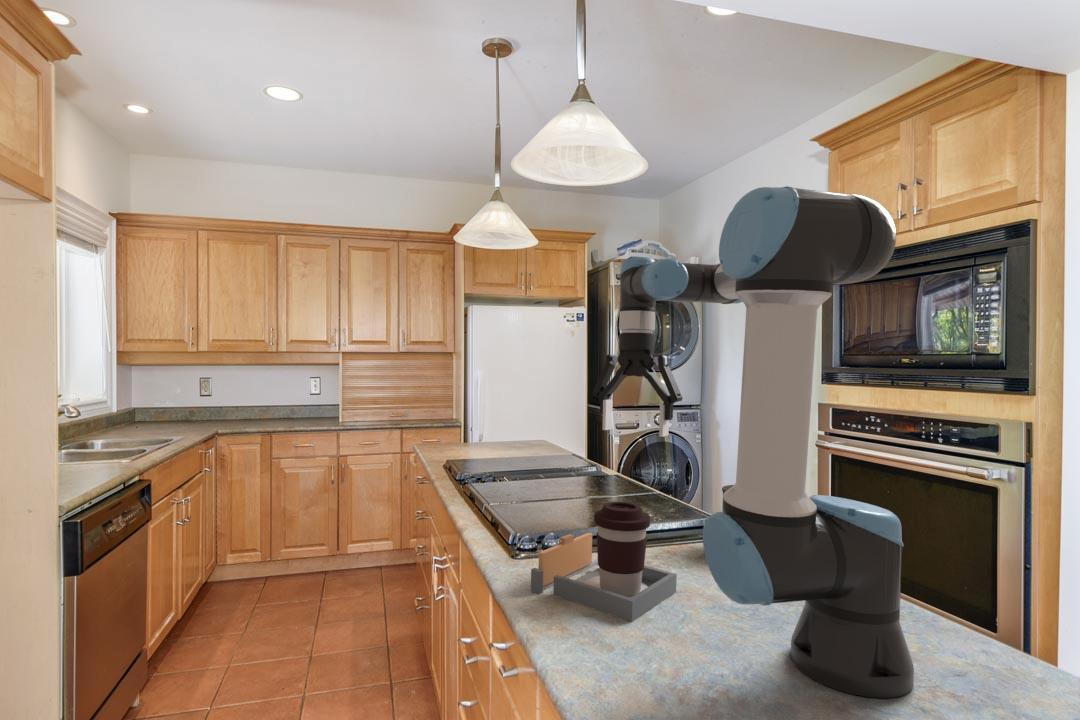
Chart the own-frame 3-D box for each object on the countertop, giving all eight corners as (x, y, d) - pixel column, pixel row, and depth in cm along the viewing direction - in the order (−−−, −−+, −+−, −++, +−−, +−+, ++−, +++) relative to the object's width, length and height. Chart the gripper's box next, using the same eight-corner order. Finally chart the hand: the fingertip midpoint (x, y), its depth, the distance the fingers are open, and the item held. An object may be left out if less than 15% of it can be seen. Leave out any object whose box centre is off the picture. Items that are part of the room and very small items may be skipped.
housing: (702, 573, 116) (703, 553, 116) (627, 625, 93) (627, 600, 93) (616, 550, 128) (616, 532, 128) (530, 591, 105) (531, 569, 105)
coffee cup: (635, 605, 98) (637, 516, 98) (582, 592, 103) (584, 507, 103) (656, 586, 106) (658, 504, 106) (606, 574, 111) (608, 496, 111)
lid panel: (591, 563, 118) (592, 527, 118) (542, 586, 106) (543, 546, 106) (587, 562, 119) (588, 526, 119) (538, 585, 106) (539, 545, 106)
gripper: (700, 332, 118) (697, 437, 119) (597, 333, 134) (595, 425, 134) (684, 331, 113) (681, 440, 113) (578, 332, 128) (576, 428, 128)
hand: (634, 432), depth 123 cm, fingers open, 13 cm apart
